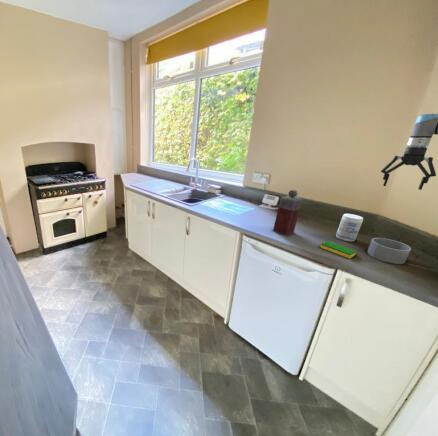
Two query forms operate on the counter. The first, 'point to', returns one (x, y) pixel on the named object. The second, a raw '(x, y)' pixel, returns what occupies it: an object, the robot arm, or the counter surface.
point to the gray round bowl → (388, 250)
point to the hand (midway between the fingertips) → (401, 187)
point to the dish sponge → (338, 249)
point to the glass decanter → (287, 213)
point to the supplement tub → (349, 227)
